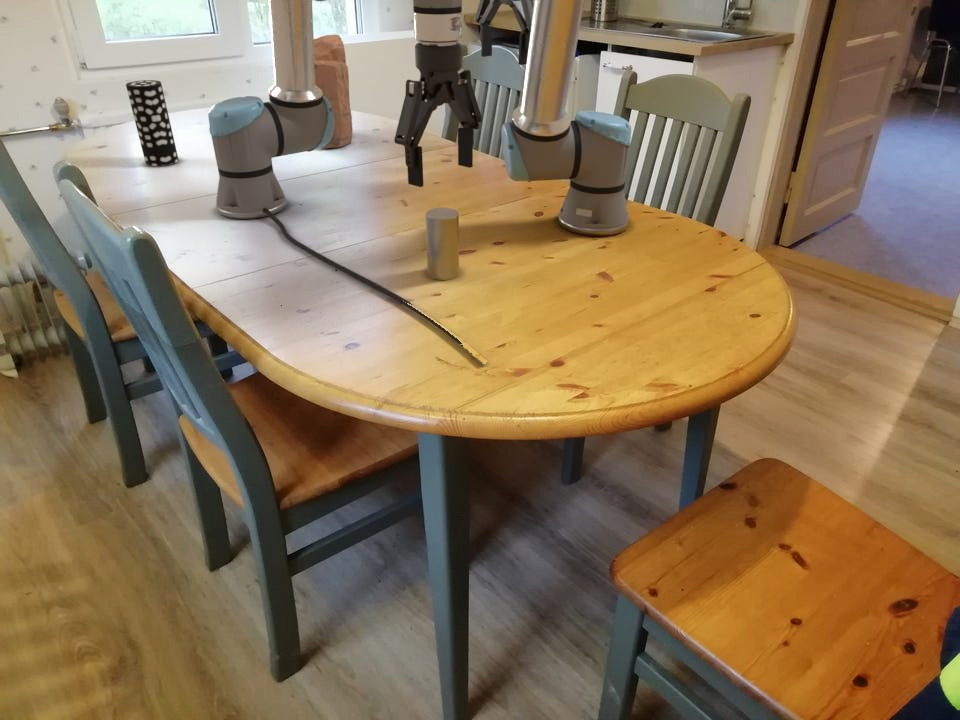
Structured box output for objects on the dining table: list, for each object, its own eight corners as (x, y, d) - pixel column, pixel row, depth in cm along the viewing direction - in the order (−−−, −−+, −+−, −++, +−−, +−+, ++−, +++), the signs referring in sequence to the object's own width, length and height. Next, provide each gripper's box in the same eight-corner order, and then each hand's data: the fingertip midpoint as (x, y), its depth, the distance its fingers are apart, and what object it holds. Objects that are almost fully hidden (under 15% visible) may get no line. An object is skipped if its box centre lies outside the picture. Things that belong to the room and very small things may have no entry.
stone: (358, 147, 199) (349, 40, 185) (319, 150, 196) (306, 42, 182) (347, 131, 217) (337, 33, 202) (310, 134, 214) (298, 34, 199)
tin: (428, 266, 133) (426, 207, 126) (459, 266, 133) (458, 207, 126) (426, 280, 128) (424, 219, 121) (458, 280, 128) (458, 219, 121)
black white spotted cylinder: (184, 157, 190) (167, 80, 179) (169, 166, 183) (151, 87, 172) (155, 156, 190) (136, 79, 179) (139, 165, 183) (119, 86, 172)
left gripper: (403, 54, 98) (410, 198, 110) (503, 35, 115) (500, 162, 126) (365, 49, 102) (375, 189, 113) (467, 31, 119) (467, 155, 130)
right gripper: (459, -45, 159) (460, 54, 171) (533, -40, 143) (528, 69, 154) (485, -46, 163) (483, 51, 175) (559, -41, 147) (552, 66, 158)
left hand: (441, 175), depth 120 cm, fingers open, 13 cm apart
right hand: (504, 60), depth 165 cm, fingers open, 13 cm apart
